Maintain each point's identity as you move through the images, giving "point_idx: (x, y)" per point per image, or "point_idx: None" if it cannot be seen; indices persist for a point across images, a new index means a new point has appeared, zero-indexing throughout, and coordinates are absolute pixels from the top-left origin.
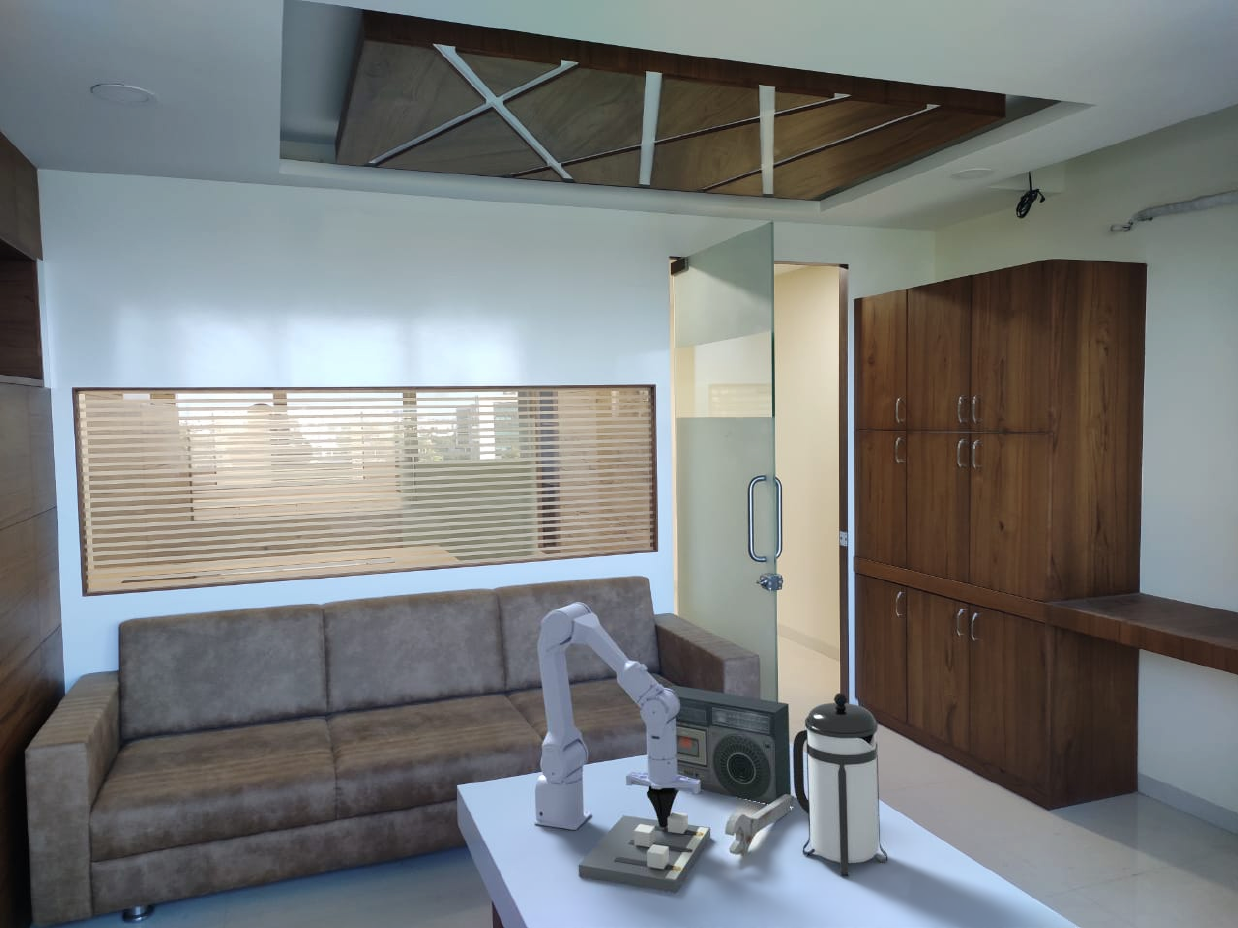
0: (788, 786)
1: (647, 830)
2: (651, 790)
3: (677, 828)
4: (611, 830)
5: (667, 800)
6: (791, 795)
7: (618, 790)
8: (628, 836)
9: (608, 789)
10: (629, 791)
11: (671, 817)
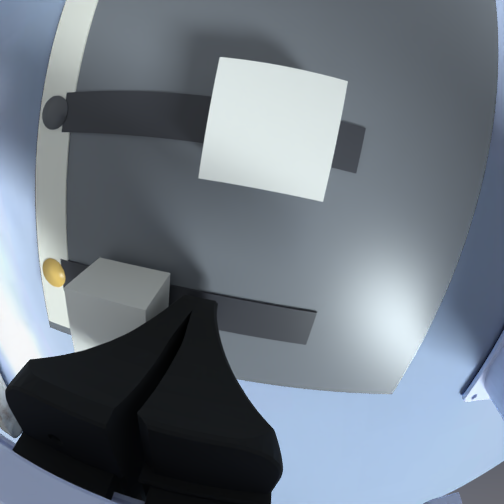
0: None
1: (242, 93)
2: (238, 490)
3: (113, 271)
4: (448, 269)
5: (65, 366)
6: (2, 429)
7: (375, 484)
8: (374, 215)
9: (395, 481)
10: (351, 487)
11: (127, 317)
